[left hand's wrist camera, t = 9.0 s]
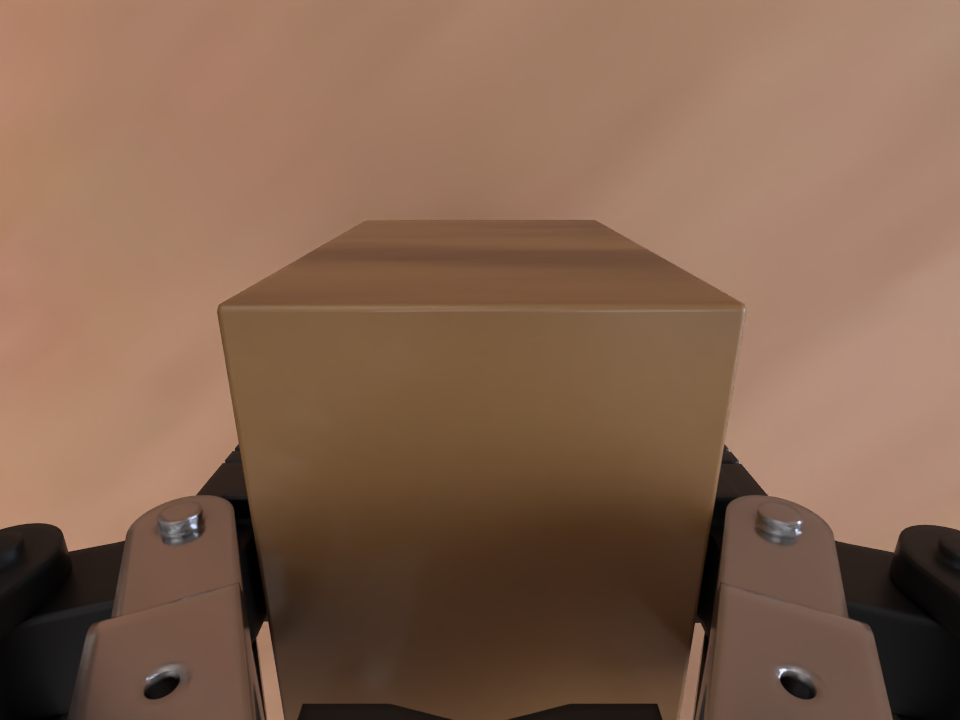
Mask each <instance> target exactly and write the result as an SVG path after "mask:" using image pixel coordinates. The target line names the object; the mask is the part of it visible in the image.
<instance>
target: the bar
mask: <svg viewBox="0 0 960 720" xmlns="http://www.w3.org/2000/svg"><path fill="white" fill-rule="evenodd" d="M217 314H218V320H219V326H220V332H221V338H222V344H223V350H224V356H225V362H226V368H227V374H228V380H229V386H230V392H231V398H232V404H233V411H234V417H235V423H236V429H237V435H238V441H239V447H240V453H241V459H242V465H243V471H244V477H245V483H246V489H247V495H248V501H249V507H250V514H251V520H252V526H253V532H254V538H255V544H256V550H257V556H258V562H259V568H260V574H261V580H262V586H263V592H264V598H265V604H266V610H267V617H268V623H269V629H270V635H271V641H272V647H273V653H274V659H275V665H276V671H277V677H278V683H279V689H280V695H281V701H282V707H283V713H284V720H297V719H298V716H299V713H300V710H301V707H302V704H393V705H397V706H401V707H405V708H409V709H413V710H417V711H421V712H425V713H429V714H433V715H437V716H440V717H444V718H448V719H452V720H508V719H512V718H516V717H520V716H523V715H527V714H531V713H535V712H539V711H543V710H547V709H551V708H555V707H559V706H563V705H567V704H658V707H659V710H660V713H661V716H662V719H663V720H679V717H680V711H681V705H682V699H683V693H684V687H685V681H686V675H687V669H688V662H689V656H690V650H691V644H692V638H693V632H694V626H695V620H696V614H697V608H698V601H699V595H700V589H701V583H702V577H703V571H704V565H705V559H706V553H707V547H708V540H709V534H710V528H711V522H712V516H713V510H714V504H715V498H716V492H717V486H718V479H719V473H720V467H721V461H722V455H723V449H724V443H725V437H726V431H727V425H728V418H729V412H730V406H731V400H732V394H733V388H734V382H735V376H736V370H737V364H738V357H739V351H740V345H741V339H742V333H743V327H744V321H745V315H746V308H745V304H744V303H742V302H740V301H738V300H736V299H735V298H733V297H731V296H729V295H728V294H726V293H724V292H722V291H720V290H719V289H717V288H715V287H713V286H711V285H710V284H708V283H706V282H704V281H703V280H701V279H699V278H697V277H695V276H694V275H692V274H690V273H688V272H687V271H685V270H683V269H681V268H679V267H678V266H676V265H674V264H672V263H671V262H669V261H667V260H665V259H663V258H662V257H660V256H658V255H656V254H655V253H653V252H651V251H649V250H647V249H646V248H644V247H642V246H640V245H639V244H637V243H635V242H633V241H631V240H630V239H628V238H626V237H624V236H623V235H621V234H619V233H617V232H615V231H614V230H612V229H610V228H608V227H606V226H605V225H603V224H601V223H599V222H598V221H595V220H401V221H365V222H363V223H361V224H359V225H357V226H356V227H354V228H352V229H350V230H349V231H347V232H345V233H343V234H342V235H340V236H338V237H336V238H335V239H333V240H331V241H329V242H328V243H326V244H324V245H322V246H321V247H319V248H317V249H315V250H314V251H312V252H310V253H308V254H307V255H305V256H303V257H301V258H300V259H298V260H296V261H295V262H293V263H291V264H289V265H288V266H286V267H284V268H282V269H281V270H279V271H277V272H275V273H274V274H272V275H270V276H268V277H267V278H265V279H263V280H261V281H260V282H258V283H256V284H254V285H253V286H251V287H249V288H247V289H246V290H244V291H242V292H240V293H239V294H237V295H235V296H233V297H232V298H230V299H228V300H226V301H225V302H223V303H221V304H219V306H218V310H217Z"/></svg>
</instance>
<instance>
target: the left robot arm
mask: <svg viewBox="0 0 960 720" xmlns="http://www.w3.org/2000/svg"><path fill="white" fill-rule="evenodd" d="M264 621H268V617H267V610H266V604H265V598H264V592H263V586H262V580H261V574H260V568H259V562H258V556H257V550H256V544H255V538H254V532H253V526H252V520H251V514H250V507H249V501H248V495H247V489H246V483H245V477H244V471H243V465H242V459H241V453H240V447H239V444H238V446H237V447H236V448H235V451H233V452H232V453H231V454H230V455H229V456H228V458H227V459H226V460H225V463H223V464H222V465H221V466H220V467H219V468H218V470H217V471H216V472H215V473H214V474H213V476H212V477H211V478H210V479H209V480H208V482H207V483H206V484H205V485H204V486H203V488H202V489H201V490H200V491H199V492H198V494H197V495H196V496H189V497H183V498H179V499H175V500H172V501H169V502H166V503H164V504H161V505H159V506H157V507H155V508H153V509H151V510H149V511H148V512H146V513H145V514H143V515H142V516H140V517H139V518H138V519H137V520H136V521H135V522H134V523H133V524H132V525H131V527H130V528H129V530H128V532H127V535H126V540H125V541H122V542H117V543H112V544H107V545H102V546H97V547H92V548H86V549H81V550H76V551H71V552H68V549H67V546H66V543H65V539H64V536H63V533H62V531H61V530H60V529H59V528H58V527H56V526H53V525H50V524H42V523H33V524H23V525H17V526H12V527H8V528H4V529H1V530H0V720H267V713H266V705H265V697H264V689H263V681H262V673H261V665H260V657H259V650H258V645H257V639H256V637H257V635H258V633H259V631H260V628H261V626H262V624H263V622H264ZM695 623H701V624H702V627H703V629H704V631H705V633H704V639H703V645H702V650H701V657H700V665H699V673H698V681H697V689H696V697H695V705H694V713H693V720H960V531H959V530H956V529H952V528H947V527H941V526H935V525H916V526H911V527H908V528H906V529H904V530H903V531H902V532H901V534H900V535H899V539H898V542H897V545H896V549H895V552H894V553H893V552H888V551H883V550H878V549H872V548H867V547H862V546H857V545H852V544H847V543H843V542H838V541H835V540H834V535H833V532H832V530H831V528H830V527H829V525H828V524H827V523H826V522H825V521H824V520H823V519H822V518H821V517H820V516H818V515H817V514H815V513H814V512H812V511H811V510H809V509H807V508H805V507H803V506H801V505H799V504H796V503H794V502H791V501H788V500H785V499H781V498H777V497H771V496H768V495H767V494H766V493H765V492H764V491H763V489H762V488H761V487H760V486H759V485H758V483H757V482H756V481H755V480H754V479H753V478H752V476H751V475H750V474H749V473H748V472H747V470H746V469H745V468H744V467H743V466H742V464H739V461H738V460H737V458H736V457H735V456H734V455H733V454H732V453H731V452H729V451H728V448H727V447H726V445H725V444H724V449H723V455H722V461H721V467H720V473H719V479H718V486H717V492H716V498H715V504H714V510H713V516H712V522H711V528H710V534H709V540H708V547H707V553H706V559H705V565H704V571H703V577H702V583H701V589H700V595H699V601H698V608H697V614H696V620H695ZM297 720H452V719H448V718H444V717H440V716H437V715H433V714H429V713H425V712H421V711H417V710H413V709H409V708H405V707H401V706H397V705H393V704H302V707H301V710H300V713H299V716H298V719H297ZM508 720H663V719H662V716H661V713H660V710H659V707H658V704H567V705H563V706H559V707H555V708H551V709H547V710H543V711H539V712H535V713H531V714H527V715H523V716H520V717H516V718H512V719H508Z"/></svg>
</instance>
